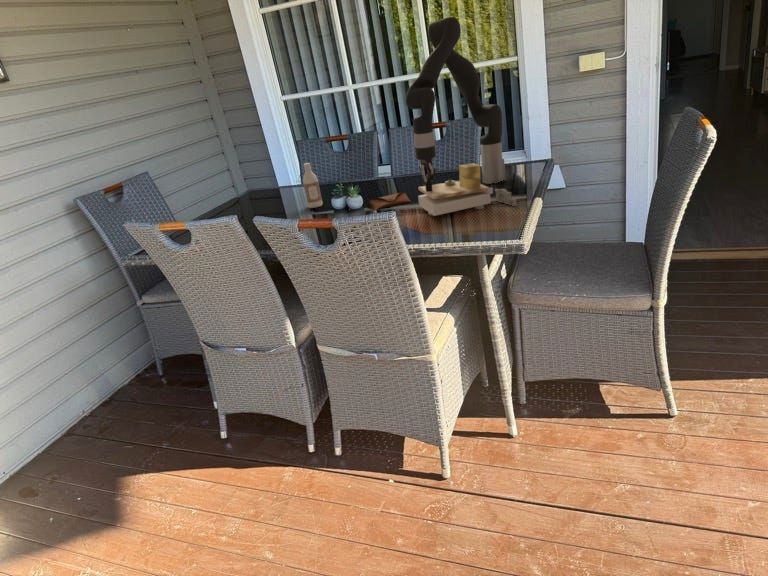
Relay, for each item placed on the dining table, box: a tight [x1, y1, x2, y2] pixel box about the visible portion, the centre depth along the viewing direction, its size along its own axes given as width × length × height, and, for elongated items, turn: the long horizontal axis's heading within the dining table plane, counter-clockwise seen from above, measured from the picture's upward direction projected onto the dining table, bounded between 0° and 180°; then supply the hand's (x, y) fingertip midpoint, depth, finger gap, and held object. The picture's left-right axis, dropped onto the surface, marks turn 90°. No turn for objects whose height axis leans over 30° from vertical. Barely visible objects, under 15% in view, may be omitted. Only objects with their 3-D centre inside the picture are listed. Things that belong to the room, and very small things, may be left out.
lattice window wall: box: [494, 188, 517, 207], centre depth 197 cm, size 12×2×6 cm, turn 23°
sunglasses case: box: [367, 191, 412, 211], centre depth 224 cm, size 18×7×7 cm
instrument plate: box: [418, 162, 490, 199], centre depth 198 cm, size 23×18×10 cm
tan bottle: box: [302, 162, 323, 209], centre depth 238 cm, size 7×7×20 cm
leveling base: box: [417, 187, 494, 217], centre depth 201 cm, size 24×21×8 cm
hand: (429, 191), depth 197 cm, fingers closed
